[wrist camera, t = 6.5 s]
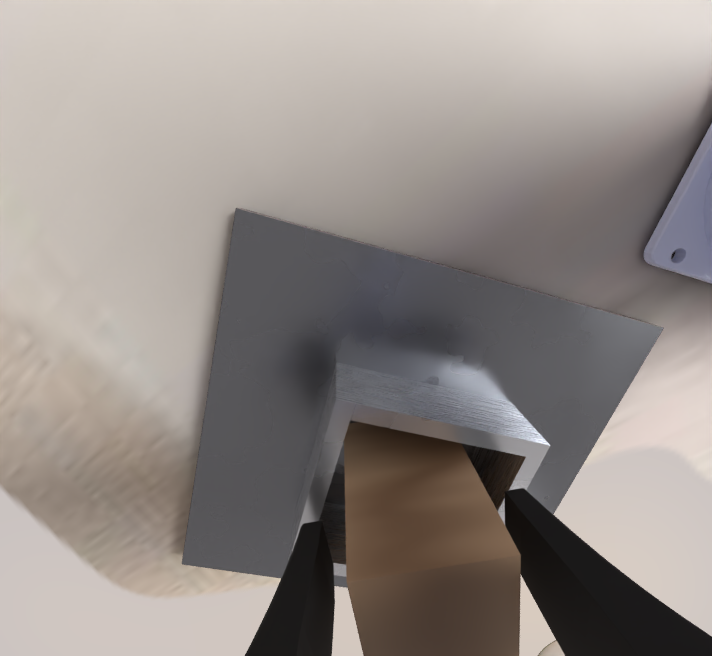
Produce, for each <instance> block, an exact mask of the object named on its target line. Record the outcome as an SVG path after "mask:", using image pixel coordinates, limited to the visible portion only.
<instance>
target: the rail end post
mask: <svg viewBox="0 0 712 656" xmlns="http://www.w3.org/2000/svg"><path fill="white" fill-rule="evenodd" d="M344 468H345V523H346V579H347V586H348V590H349V594H350V599H351V603H352V608H353V612H354V616H355V620H356V625H357V629H358V633H359V638H360V642H361V646H362V650H363V654H364V656H519V633H520V632H519V631H520V572H521V555H520V553H519V551H518V549H517V547H516V545H515V543H514V542H513V540H512V538H511V536H510V534H509V532H508V530H507V528H506V526H505V525H504V523H503V521H502V519H501V517H500V515H499V513H498V511H497V510H496V508H495V506H494V504H493V502H492V500H491V498H490V496H489V495H488V493H487V491H486V489H485V487H484V485H483V483H482V481H481V480H480V478H479V476H478V474H477V472H476V470H475V468H474V466H473V465H472V463H471V461H470V459H469V457H468V455H467V453H466V451H465V450H464V448H463V446H462V444H461V443H458V442H453V441H448V440H443V439H439V438H434V437H429V436H424V435H419V434H415V433H410V432H405V431H400V430H395V429H391V428H386V427H381V426H376V425H371V424H367V423H362V422H356V423H349V425H348V429H347V432H346V435H345V438H344Z"/></svg>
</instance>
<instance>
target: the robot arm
mask: <svg viewBox="0 0 712 656" xmlns="http://www.w3.org/2000/svg"><path fill="white" fill-rule="evenodd" d="M674 251H675V255H674V257H673V258H672V260H671V256H672V253H673V252H674ZM644 259H645V261H646V262H647V263H648V264H650V265H653V266H656V267H659V268H663V269H666V270H669V271H672V272H676V273H679V274H682V275H685V276H689V277H692V278H695V279H698V280H702V281H705V282H708V283H711V284H712V124H711V125H710V127H709V129H708V131H707V133H706V135H705V137H704V139H703V140H702V142H701V144H700V146H699V148H698V150H697V152H696V154H695V155H694V157H693V159H692V161H691V163H690V165H689V167H688V169H687V170H686V172H685V174H684V176H683V178H682V180H681V182H680V184H679V186H678V187H677V189H676V191H675V193H674V195H673V197H672V199H671V201H670V202H669V204H668V206H667V208H666V210H665V212H664V214H663V216H662V217H661V219H660V221H659V223H658V225H657V227H656V229H655V231H654V232H653V234H652V236H651V238H650V240H649V242H648V244H647V246H646V248H645V250H644ZM504 494H505V526H506V528H507V530H508V532H509V534H510V536H511V538H512V540H513V542H514V543H515V545H516V547H517V549H518V551H519V553H520V555H521V572H520V573H521V575H522V577H523V579H524V581H525V583H526V585H527V587H528V588H529V590H530V592H531V594H532V596H533V598H534V600H535V602H536V603H537V605H538V607H539V609H540V611H541V612H542V614H543V616H544V618H545V620H546V622H547V624H548V625H549V627H550V629H551V631H552V633H553V635H554V636H555V638H556V640H557V642H558V644H559V646H560V647H561V649H562V651H563V653H564V655H565V656H712V637H711V636H710V635H708V634H707V633H706V632H704V631H703V630H701V629H700V628H698V627H697V626H695V625H694V624H692V623H691V622H689V621H688V620H686V619H685V618H684V617H682V616H681V615H679V614H678V613H676V612H675V611H674V610H672V609H670V608H669V607H668V606H666V605H665V604H664V603H662V602H661V601H659V600H658V599H657V598H655V597H654V596H652V595H651V594H650V593H648V592H647V591H646V590H644V589H643V588H642V587H640V586H639V585H638V584H636V583H635V582H634V581H632V580H631V579H630V578H629V577H627V576H626V575H625V574H624V573H622V572H621V571H620V570H618V569H617V568H616V567H615V566H613V565H612V564H611V563H609V562H608V561H607V560H606V559H605V558H603V557H602V556H601V555H599V554H598V553H597V552H596V551H595V550H594V549H592V548H591V547H590V546H589V545H588V544H587V543H585V542H584V541H583V540H582V539H581V538H579V537H578V536H577V535H576V534H575V533H573V532H572V531H571V530H570V529H569V528H568V527H567V526H565V525H564V524H563V523H562V522H561V521H560V520H559V519H557V518H556V517H555V516H554V515H553V514H552V513H551V512H550V511H549V510H547V509H546V508H545V507H544V506H543V505H542V504H541V503H540V502H539V501H538V500H537V499H535V498H534V497H533V496H532V495H531V494H530V493H529V492H528V491H527V490H525V489H524V488H520V489H513V490H507V491H504ZM334 604H335V599H334V565H333V561H332V557H331V553H330V549H329V545H328V541H327V537H326V533H325V530H324V526H323V522H322V521H316V522H310V523H304V524H303V525H302V526H301V528H300V531H299V534H298V537H297V540H296V543H295V546H294V548H293V551H292V554H291V556H290V559H289V561H288V564H287V566H286V569H285V571H284V574H283V576H282V578H281V581H280V583H279V585H278V588H277V590H276V592H275V595H274V597H273V599H272V602H271V604H270V606H269V608H268V610H267V612H266V614H265V616H264V618H263V620H262V623H261V625H260V627H259V629H258V631H257V633H256V635H255V637H254V639H253V641H252V643H251V645H250V647H249V649H248V651H247V653H246V654H245V656H331V654H332V639H333V622H334Z"/></svg>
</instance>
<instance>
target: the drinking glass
mask: <svg viewBox="0 0 712 656" xmlns="http://www.w3.org/2000/svg"><path fill="white" fill-rule="evenodd" d="M538 656H565V655H564V653H563V651H562V649H561V647H560V646H559V644H558V642H557V640H556V641H554V642H552V643H550V644H549V645H548V646H546V647H545V648H544V649H543V650H542V651H541V652H540V653H539V655H538Z"/></svg>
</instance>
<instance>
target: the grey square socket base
mask: <svg viewBox="0 0 712 656" xmlns="http://www.w3.org/2000/svg"><path fill="white" fill-rule="evenodd" d="M663 329H664V328H663V327H660V326H657V325H654V324H651V323H648V322H644V321H641V320H637V319H634V318H630V317H626V316H623V315H619V314H616V313H612V312H609V311H605V310H601V309H598V308H594V307H591V306H587V305H584V304H580V303H577V302H573V301H569V300H566V299H562V298H559V297H555V296H552V295H548V294H544V293H541V292H537V291H534V290H530V289H527V288H523V287H520V286H516V285H512V284H509V283H505V282H502V281H498V280H495V279H491V278H487V277H484V276H480V275H477V274H473V273H470V272H466V271H463V270H459V269H455V268H452V267H448V266H445V265H441V264H438V263H434V262H430V261H427V260H423V259H420V258H416V257H413V256H409V255H406V254H402V253H398V252H395V251H391V250H388V249H384V248H381V247H377V246H373V245H370V244H366V243H363V242H359V241H356V240H352V239H348V238H345V237H341V236H338V235H334V234H331V233H327V232H324V231H320V230H316V229H313V228H309V227H306V226H302V225H299V224H295V223H291V222H288V221H284V220H281V219H277V218H274V217H270V216H267V215H263V214H259V213H256V212H252V211H249V210H245V209H242V208H236V211H235V217H234V224H233V230H232V237H231V244H230V250H229V257H228V263H227V270H226V277H225V283H224V290H223V296H222V303H221V309H220V316H219V323H218V329H217V336H216V342H215V349H214V355H213V362H212V369H211V375H210V382H209V388H208V395H207V401H206V408H205V415H204V421H203V428H202V434H201V441H200V447H199V454H198V461H197V467H196V474H195V480H194V487H193V493H192V500H191V507H190V513H189V520H188V526H187V533H186V540H185V546H184V553H183V559H182V564H184V565H191V566H198V567H205V568H212V569H219V570H226V571H233V572H240V573H247V574H255V575H262V576H269V577H276V578H282V576H283V574H284V571H285V569H286V566H287V564H288V561H289V559H290V556H291V554H292V551H293V548H294V546H295V543H296V540H297V537H298V534H299V531H300V528H301V526H302V525H303V524H304V523H310V522H316V521H322V522H323V526H324V530H325V533H326V537H327V541H328V545H329V549H330V553H331V557H332V561H333V565H334V586H339V587H347V588H348V586H347V579H346V523H345V468H344V438H345V435H346V432H347V429H348V425H349V423H356V422H362V423H367V424H371V425H376V426H381V427H386V428H391V429H395V430H400V431H405V432H410V433H415V434H419V435H424V436H429V437H434V438H439V439H443V440H448V441H453V442H458V443H461V444H462V446H463V448H464V450H465V451H466V453H467V455H468V457H469V459H470V461H471V463H472V465H473V466H474V468H475V470H476V472H477V474H478V476H479V478H480V480H481V481H482V483H483V485H484V487H485V489H486V491H487V493H488V495H489V496H490V498H491V500H492V502H493V504H494V506H495V508H496V510H497V511H498V513H499V515H500V517H501V519H502V521H503V523H504V525H505V494H504V491H507V490H513V489H520V488H524V489H525V490H527V491H528V492H529V493H530V494H531V495H532V496H533V497H534V498H535V499H537V500H538V501H539V502H540V503H541V504H542V505H543V506H544V507H545V508H546V509H547V510H549V511H550V512H551V513H552V514H554V512H555V510H556V509H557V507H558V506H559V504H560V502H561V501H562V499H563V497H564V496H565V494H566V492H567V491H568V489H569V487H570V485H571V484H572V482H573V480H574V479H575V477H576V475H577V474H578V472H579V470H580V469H581V467H582V465H583V464H584V462H585V460H586V459H587V457H588V455H589V453H590V452H591V450H592V448H593V447H594V445H595V443H596V442H597V440H598V438H599V437H600V435H601V433H602V432H603V430H604V428H605V426H606V425H607V423H608V421H609V420H610V418H611V416H612V415H613V413H614V411H615V410H616V408H617V406H618V405H619V403H620V401H621V399H622V398H623V396H624V394H625V393H626V391H627V389H628V388H629V386H630V384H631V383H632V381H633V379H634V378H635V376H636V374H637V372H638V371H639V369H640V367H641V366H642V364H643V362H644V361H645V359H646V357H647V356H648V354H649V352H650V351H651V349H652V347H653V346H654V344H655V342H656V340H657V339H658V337H659V335H660V334H661V332H662V330H663Z"/></svg>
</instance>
